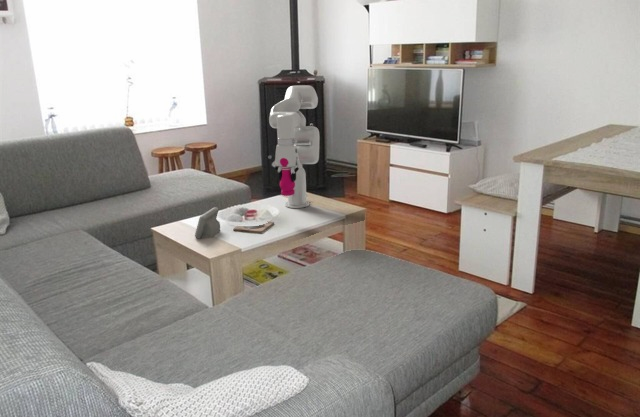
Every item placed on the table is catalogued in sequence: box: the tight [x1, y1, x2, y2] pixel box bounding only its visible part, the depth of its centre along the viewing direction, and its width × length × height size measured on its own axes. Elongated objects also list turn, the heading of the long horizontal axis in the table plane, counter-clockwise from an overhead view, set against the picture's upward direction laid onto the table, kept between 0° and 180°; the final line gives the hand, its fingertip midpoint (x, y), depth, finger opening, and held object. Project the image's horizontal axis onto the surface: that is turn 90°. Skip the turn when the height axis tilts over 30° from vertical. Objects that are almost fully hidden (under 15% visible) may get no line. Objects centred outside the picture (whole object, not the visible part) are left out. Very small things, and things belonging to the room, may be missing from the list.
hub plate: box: [233, 221, 275, 234], centre depth 247 cm, size 14×14×1 cm
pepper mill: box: [279, 158, 295, 197], centre depth 247 cm, size 7×7×20 cm
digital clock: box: [194, 206, 221, 239], centre depth 239 cm, size 16×9×11 cm, turn 155°
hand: (287, 180), depth 248 cm, fingers closed on pepper mill, 5 cm apart
